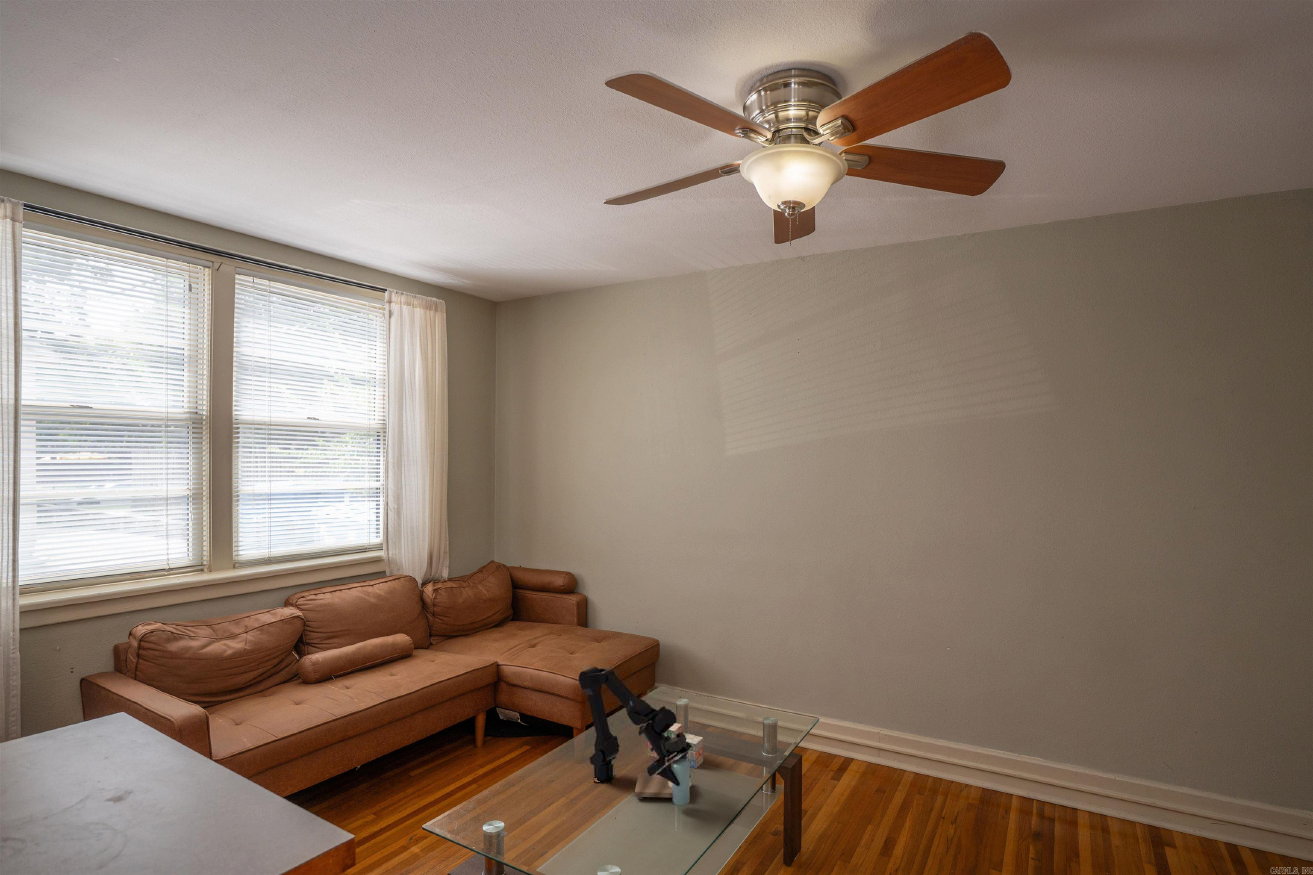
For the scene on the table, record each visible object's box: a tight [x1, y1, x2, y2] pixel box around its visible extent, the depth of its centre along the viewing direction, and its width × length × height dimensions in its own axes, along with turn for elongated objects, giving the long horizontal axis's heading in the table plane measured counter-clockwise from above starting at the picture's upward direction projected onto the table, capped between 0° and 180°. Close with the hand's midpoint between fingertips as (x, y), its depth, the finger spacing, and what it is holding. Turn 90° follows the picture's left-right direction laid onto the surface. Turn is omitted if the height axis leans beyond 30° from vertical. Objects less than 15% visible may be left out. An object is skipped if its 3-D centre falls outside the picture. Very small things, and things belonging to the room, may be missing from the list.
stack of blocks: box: [646, 722, 704, 769], centre depth 265 cm, size 21×6×12 cm, turn 58°
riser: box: [634, 773, 692, 801], centre depth 241 cm, size 19×12×3 cm, turn 85°
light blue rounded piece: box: [671, 759, 691, 806], centre depth 229 cm, size 6×6×12 cm
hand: (684, 781), depth 228 cm, fingers closed on light blue rounded piece, 6 cm apart
